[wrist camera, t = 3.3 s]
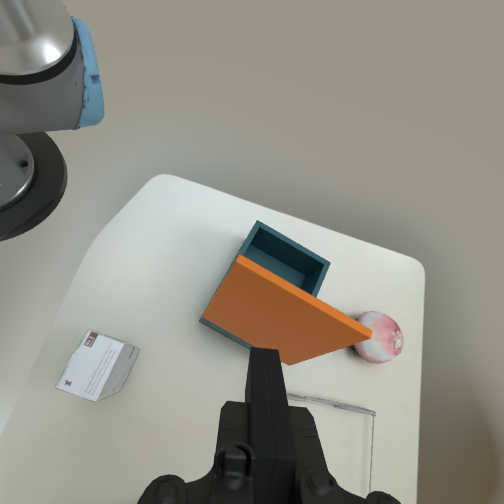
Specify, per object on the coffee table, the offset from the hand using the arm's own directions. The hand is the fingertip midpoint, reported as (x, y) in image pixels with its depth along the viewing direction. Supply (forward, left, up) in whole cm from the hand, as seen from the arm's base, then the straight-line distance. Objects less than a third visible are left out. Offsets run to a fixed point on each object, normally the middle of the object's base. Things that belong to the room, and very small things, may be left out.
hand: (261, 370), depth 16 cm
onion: (+18, +18, -30) cm, 39 cm away
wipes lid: (+1, +6, -14) cm, 15 cm away
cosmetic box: (-10, -8, -30) cm, 32 cm away
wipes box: (0, +12, -30) cm, 32 cm away
